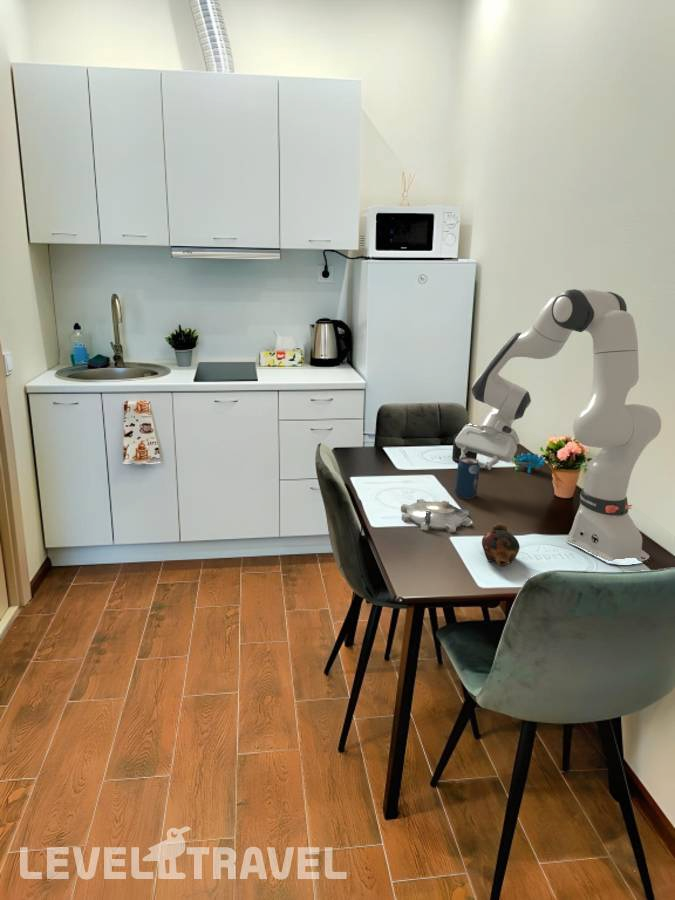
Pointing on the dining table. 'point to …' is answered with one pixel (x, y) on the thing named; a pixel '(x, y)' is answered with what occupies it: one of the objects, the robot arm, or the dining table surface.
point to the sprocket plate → (435, 515)
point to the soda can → (467, 477)
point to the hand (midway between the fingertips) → (474, 464)
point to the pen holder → (457, 452)
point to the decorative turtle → (500, 545)
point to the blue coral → (528, 461)
